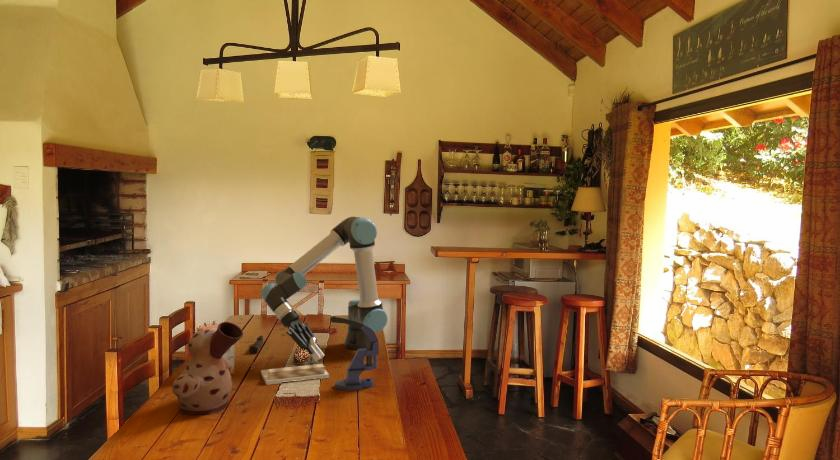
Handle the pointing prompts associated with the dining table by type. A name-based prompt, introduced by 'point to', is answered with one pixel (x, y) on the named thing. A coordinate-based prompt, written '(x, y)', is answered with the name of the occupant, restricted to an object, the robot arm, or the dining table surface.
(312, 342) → the surface gauge
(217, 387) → the vessel
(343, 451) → the dining table surface
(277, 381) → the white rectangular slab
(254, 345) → the hand tool
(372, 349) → the hand press
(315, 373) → the oak board
